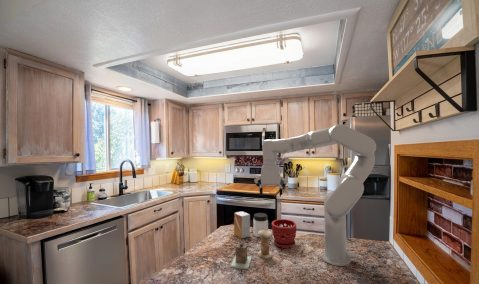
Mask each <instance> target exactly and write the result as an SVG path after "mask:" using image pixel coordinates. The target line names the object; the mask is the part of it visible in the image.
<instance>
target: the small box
mask: <svg viewBox="0 0 479 284" xmlns="http://www.w3.org/2000/svg"><path fill="white" fill-rule="evenodd" d="M233 214H234V215H233V234H234V235H236V236H237V237H239V238H241V239H244V238H248V237H250V236H251V214H249V213H247V212H245V211H236V212H234V213H233Z"/></svg>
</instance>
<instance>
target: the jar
mask: <svg viewBox="0 0 479 284" xmlns="http://www.w3.org/2000/svg"><path fill="white" fill-rule="evenodd" d="M252 221H253V233H252V234H253V235H254V236H255V238H261V237H260V236H258V232H259V231H261V230H268V231H269V220H268V215H267V213H264V212H257V213H254V214H253V220H252Z"/></svg>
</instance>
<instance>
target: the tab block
mask: <svg viewBox="0 0 479 284" xmlns="http://www.w3.org/2000/svg"><path fill="white" fill-rule="evenodd" d="M235 255H236V263H242V264H246V261H247V256H248V243H244V241H241V242H237V244H236V246H235Z"/></svg>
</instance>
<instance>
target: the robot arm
mask: <svg viewBox="0 0 479 284" xmlns="http://www.w3.org/2000/svg"><path fill="white" fill-rule="evenodd" d="M337 144H339V145H341V146H342V147H344V148H346V149H348V150H349V151H352V152H353V156H354V158H353V161H352V162H351V164H350V165H349V167H348V168H347V169H346V171H345V172H344V173H343V174H342V175H341V177H339V179H338V182H337V187H336V188H335V189H334V190H333V191H330V192H328V193H326V195H325V196H324V198H323V199H324V200H323V206H324V207H323V209H324V210H323V211H324V212H323V213H324V216H323V217H324V225H323V226H324V251H323V252H322V253H321V256H320V257H321V259H322V260H323V261H324V262H325V263H327V264H329V265H332V266H337V267H347V266H349V265H350V264H351V260H352V259H355V260H358V259H359V255H358V254H357V253H354V252H353V251H348V250H347V249H348V248H347V215H348V214H349V212H350V211H351V210H352V209H353V207H354V206H355V205H356V204H357V202H358V201H359V200H360V199H361V197H362V196H363V194H364V191H365V186H364V182H365V181H366V179H368V177H369V176H370V175H371V172H372V171H373V169H374V167H375V163H376V157H375V152H376V150H377V144H376V142H375V140H374V139H373V138H372V137H370V136H368V135H366V134H364V133H362V132H359V131H358V130H355V129H354V128H352V127H349V126H347V125H345V124H343V123H342V124H341V123H338V124H335V125H333V126H330V127H326V128H321V129H316V130H312V131H309V132H307V133H305V134H302V135H299V136H295V137H290V138H281V139H264V140H263V141H262V159H263V160H262V164H263V165H262V166H261V170H260V171H261V172H260V176H258V177H257V178H254V180H253V181H254V183H255V186H257V187H258V188H259V195H260V197H262V196H264V194H263V193H264V192H263V191H264V190H263V189H264V188H263V186H278V187H279V197H280V198H281V197H282V195H283V189H284V187H286V185H287V183H288V179H286V178H284V177H282V176H281V170H280V165H279V164H281V160H278V154H283V155H284V154H290V153H294V152H298V151H303V150H314V149H318V148H323V147H327V146H332V145H337ZM258 181H260V183H261V184H260V183H259V182H258ZM281 181H283V183H282V184H281Z"/></svg>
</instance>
